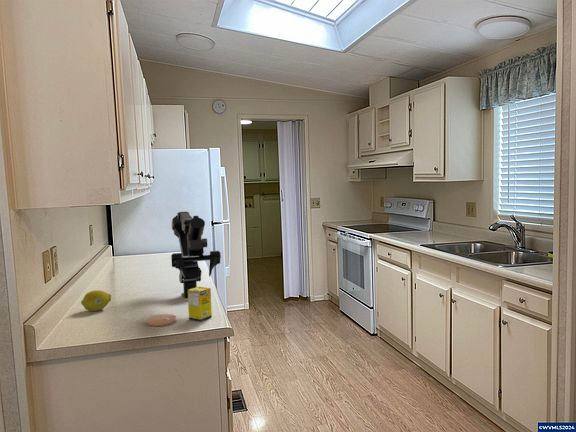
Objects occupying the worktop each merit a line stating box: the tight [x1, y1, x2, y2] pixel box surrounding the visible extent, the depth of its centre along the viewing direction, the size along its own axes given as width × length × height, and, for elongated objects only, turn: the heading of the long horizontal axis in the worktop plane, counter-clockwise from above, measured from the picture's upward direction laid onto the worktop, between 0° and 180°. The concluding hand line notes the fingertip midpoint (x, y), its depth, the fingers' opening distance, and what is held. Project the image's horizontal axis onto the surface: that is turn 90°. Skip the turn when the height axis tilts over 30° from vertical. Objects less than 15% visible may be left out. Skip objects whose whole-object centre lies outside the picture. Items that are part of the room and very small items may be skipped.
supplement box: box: [187, 286, 213, 322], centre depth 153 cm, size 6×6×11 cm
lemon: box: [80, 289, 112, 312], centre depth 166 cm, size 11×8×8 cm
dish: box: [146, 313, 177, 327], centre depth 150 cm, size 10×10×1 cm
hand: (197, 276), depth 160 cm, fingers open, 9 cm apart
